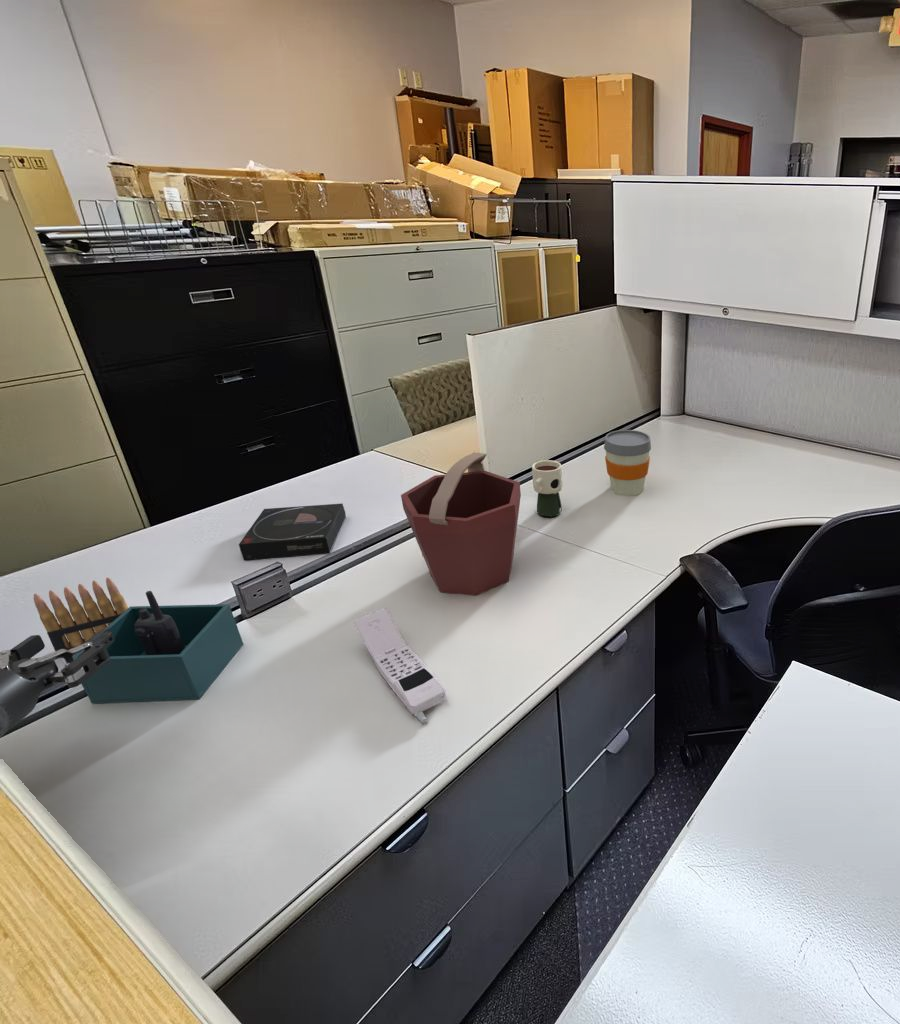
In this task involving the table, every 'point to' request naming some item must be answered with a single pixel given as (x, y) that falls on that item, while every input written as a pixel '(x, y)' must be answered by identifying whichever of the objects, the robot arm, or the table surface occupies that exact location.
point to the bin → (166, 657)
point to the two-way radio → (157, 631)
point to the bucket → (465, 526)
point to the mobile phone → (399, 663)
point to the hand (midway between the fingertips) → (74, 637)
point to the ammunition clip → (79, 614)
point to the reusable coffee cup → (627, 460)
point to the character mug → (547, 486)
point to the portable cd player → (293, 532)
